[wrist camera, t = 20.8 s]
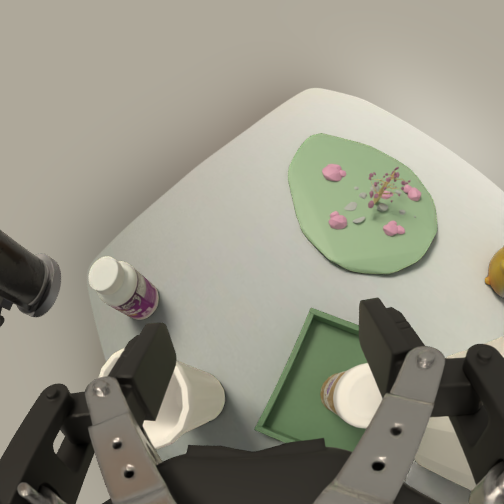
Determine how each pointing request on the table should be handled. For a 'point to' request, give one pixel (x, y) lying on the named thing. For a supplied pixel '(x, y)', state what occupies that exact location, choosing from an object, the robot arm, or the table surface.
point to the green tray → (314, 384)
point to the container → (448, 443)
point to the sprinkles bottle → (352, 395)
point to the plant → (360, 205)
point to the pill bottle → (123, 288)
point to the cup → (181, 402)
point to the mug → (497, 273)
